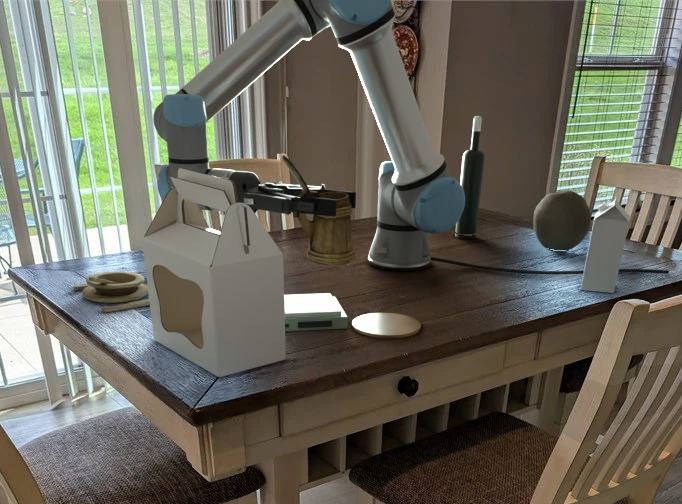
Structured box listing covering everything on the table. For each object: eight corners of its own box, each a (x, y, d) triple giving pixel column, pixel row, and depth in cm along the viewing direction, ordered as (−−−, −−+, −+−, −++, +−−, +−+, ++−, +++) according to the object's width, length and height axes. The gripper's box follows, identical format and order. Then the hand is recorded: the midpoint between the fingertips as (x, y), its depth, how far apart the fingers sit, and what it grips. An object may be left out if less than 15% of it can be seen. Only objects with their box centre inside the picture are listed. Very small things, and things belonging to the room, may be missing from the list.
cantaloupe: (533, 244, 198) (542, 184, 190) (586, 249, 193) (598, 189, 185) (524, 255, 186) (533, 193, 178) (581, 261, 182) (593, 198, 174)
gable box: (153, 339, 129) (131, 168, 114) (217, 325, 136) (205, 162, 121) (219, 379, 115) (205, 188, 100) (287, 360, 122) (283, 180, 107)
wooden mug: (279, 253, 137) (276, 150, 127) (347, 249, 141) (350, 148, 130) (289, 268, 131) (287, 160, 120) (361, 264, 134) (365, 158, 123)
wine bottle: (450, 236, 203) (462, 115, 187) (463, 233, 207) (476, 115, 191) (466, 240, 200) (479, 117, 184) (479, 237, 203) (493, 116, 187)
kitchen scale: (334, 307, 147) (334, 292, 145) (347, 328, 136) (348, 313, 134) (265, 310, 145) (265, 295, 143) (273, 332, 134) (272, 316, 132)
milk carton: (614, 285, 164) (634, 196, 154) (613, 294, 159) (633, 201, 149) (582, 282, 166) (599, 193, 156) (580, 290, 161) (597, 198, 151)
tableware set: (101, 313, 140) (96, 282, 137) (69, 288, 154) (64, 260, 151) (238, 291, 155) (236, 262, 152) (198, 270, 169) (196, 243, 165)
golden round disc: (410, 314, 144) (410, 311, 144) (429, 336, 133) (429, 333, 133) (345, 317, 142) (345, 314, 141) (360, 340, 131) (360, 336, 131)
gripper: (262, 204, 147) (366, 216, 139) (205, 223, 130) (320, 237, 123) (261, 164, 143) (368, 173, 135) (202, 178, 126) (320, 189, 119)
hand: (345, 204), depth 129 cm, fingers closed on wooden mug, 8 cm apart
